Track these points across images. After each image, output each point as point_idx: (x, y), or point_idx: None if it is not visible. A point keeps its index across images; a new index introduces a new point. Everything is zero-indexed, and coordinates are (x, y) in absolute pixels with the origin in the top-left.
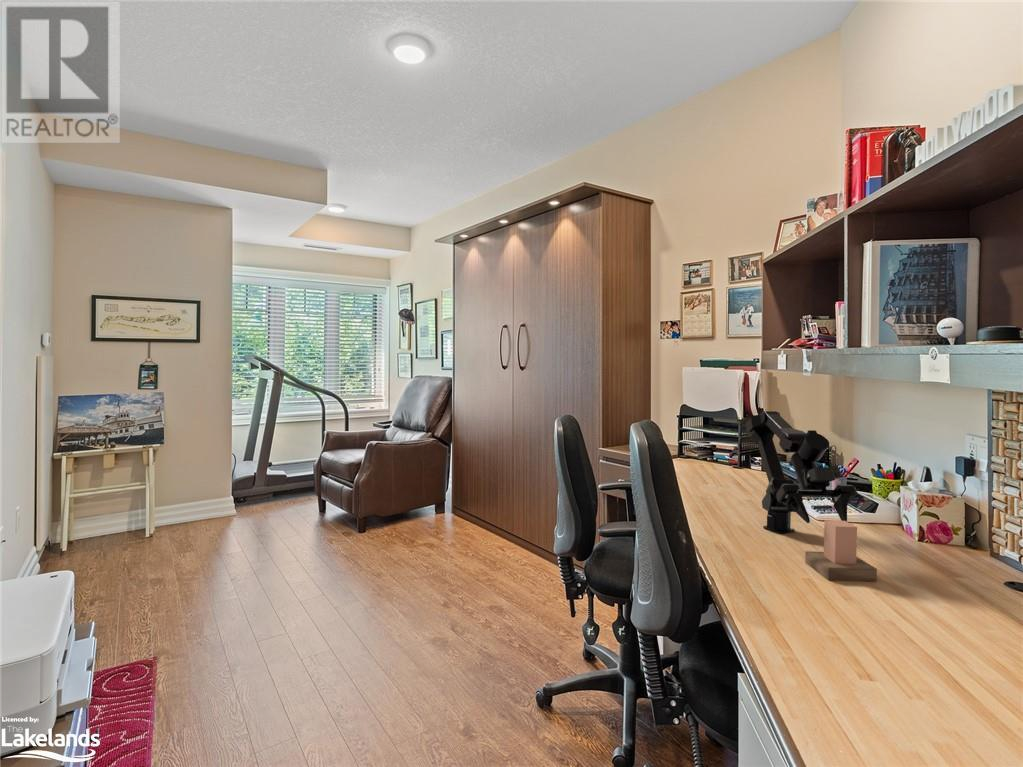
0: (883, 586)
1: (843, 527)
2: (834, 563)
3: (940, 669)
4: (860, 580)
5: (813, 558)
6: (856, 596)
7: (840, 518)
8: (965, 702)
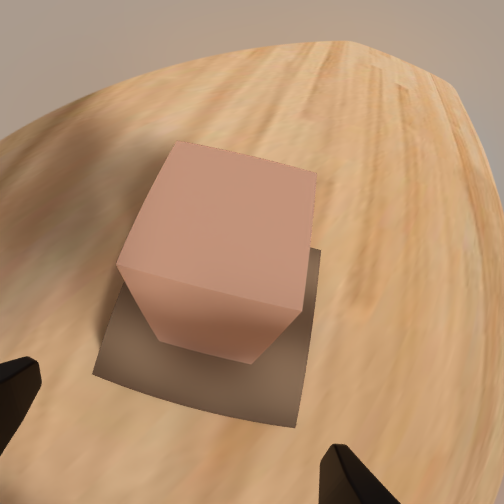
0: None
1: (264, 163)
2: None
3: (326, 66)
4: None
5: (305, 358)
6: None
7: (14, 431)
8: (341, 53)
